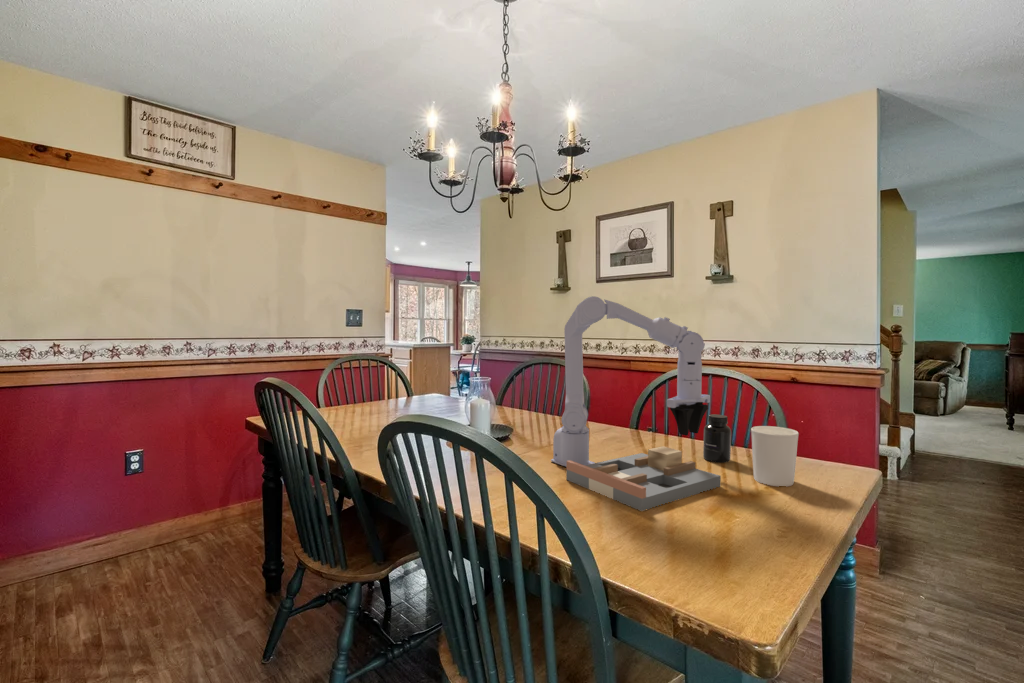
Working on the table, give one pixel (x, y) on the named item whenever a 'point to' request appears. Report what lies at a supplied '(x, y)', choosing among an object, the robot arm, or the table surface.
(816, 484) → the table surface
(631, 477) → the board
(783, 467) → the candle holder
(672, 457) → the maple block
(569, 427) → the robot arm
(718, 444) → the supplement bottle
